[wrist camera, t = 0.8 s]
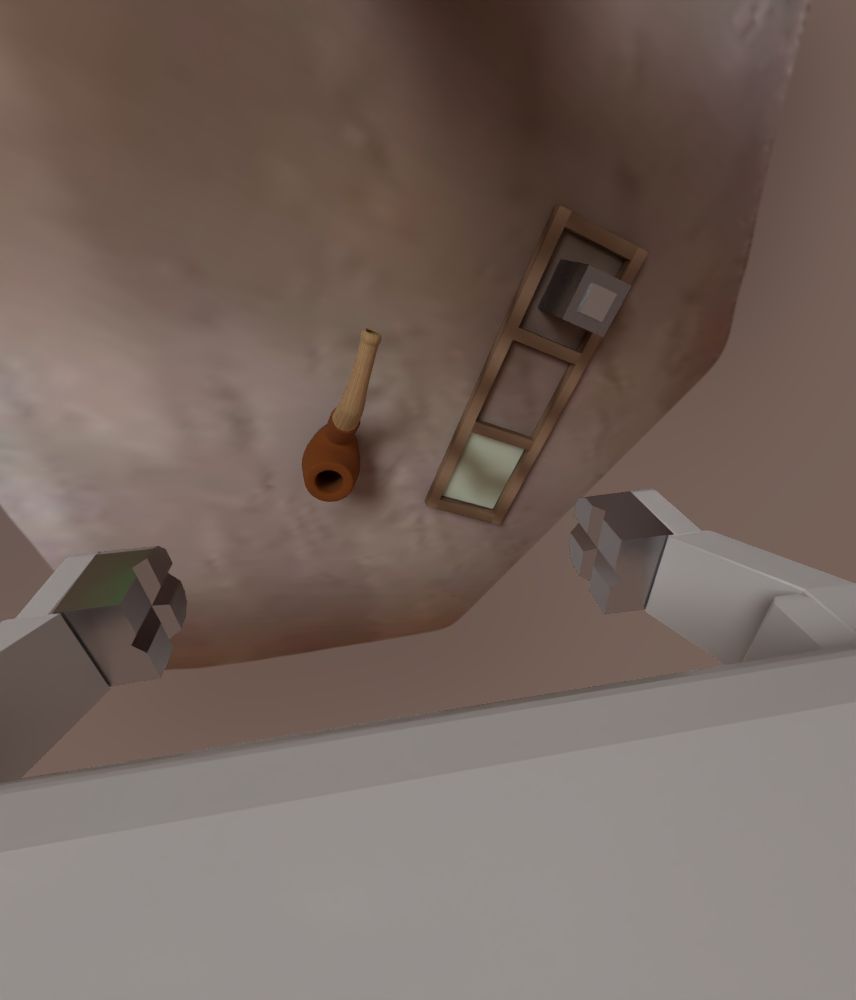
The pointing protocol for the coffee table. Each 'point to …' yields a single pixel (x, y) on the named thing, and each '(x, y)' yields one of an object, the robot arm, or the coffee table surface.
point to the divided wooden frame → (477, 444)
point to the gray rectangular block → (584, 296)
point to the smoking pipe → (341, 432)
